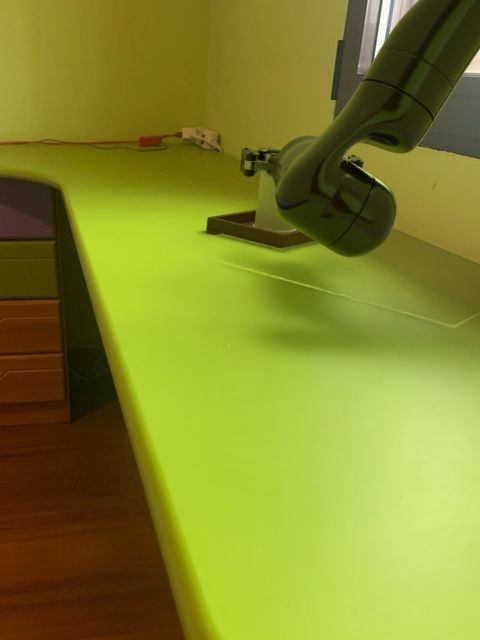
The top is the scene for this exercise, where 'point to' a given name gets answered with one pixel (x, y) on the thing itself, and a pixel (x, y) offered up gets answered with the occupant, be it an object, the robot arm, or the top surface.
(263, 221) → the white cylinder with knob
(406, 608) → the top surface
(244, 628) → the top surface
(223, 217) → the tray
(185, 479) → the top surface
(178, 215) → the top surface
